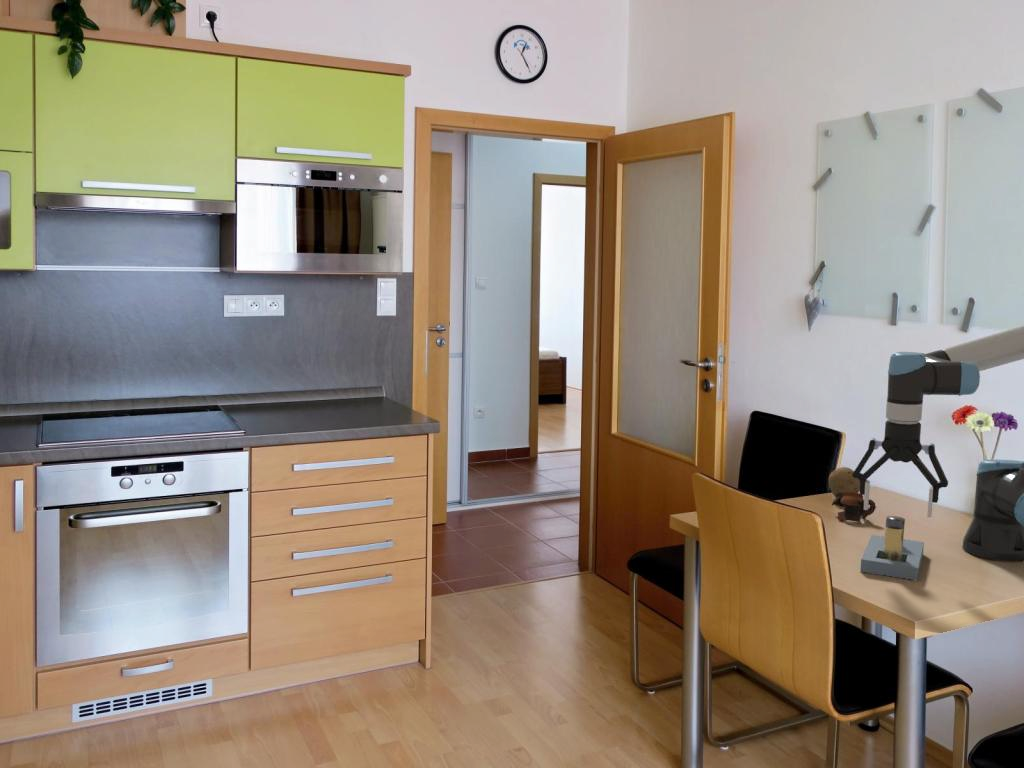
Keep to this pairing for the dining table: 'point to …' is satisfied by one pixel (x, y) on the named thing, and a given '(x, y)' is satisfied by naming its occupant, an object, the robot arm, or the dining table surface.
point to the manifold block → (878, 565)
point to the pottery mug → (852, 506)
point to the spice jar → (893, 538)
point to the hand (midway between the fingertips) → (897, 512)
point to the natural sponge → (843, 481)
